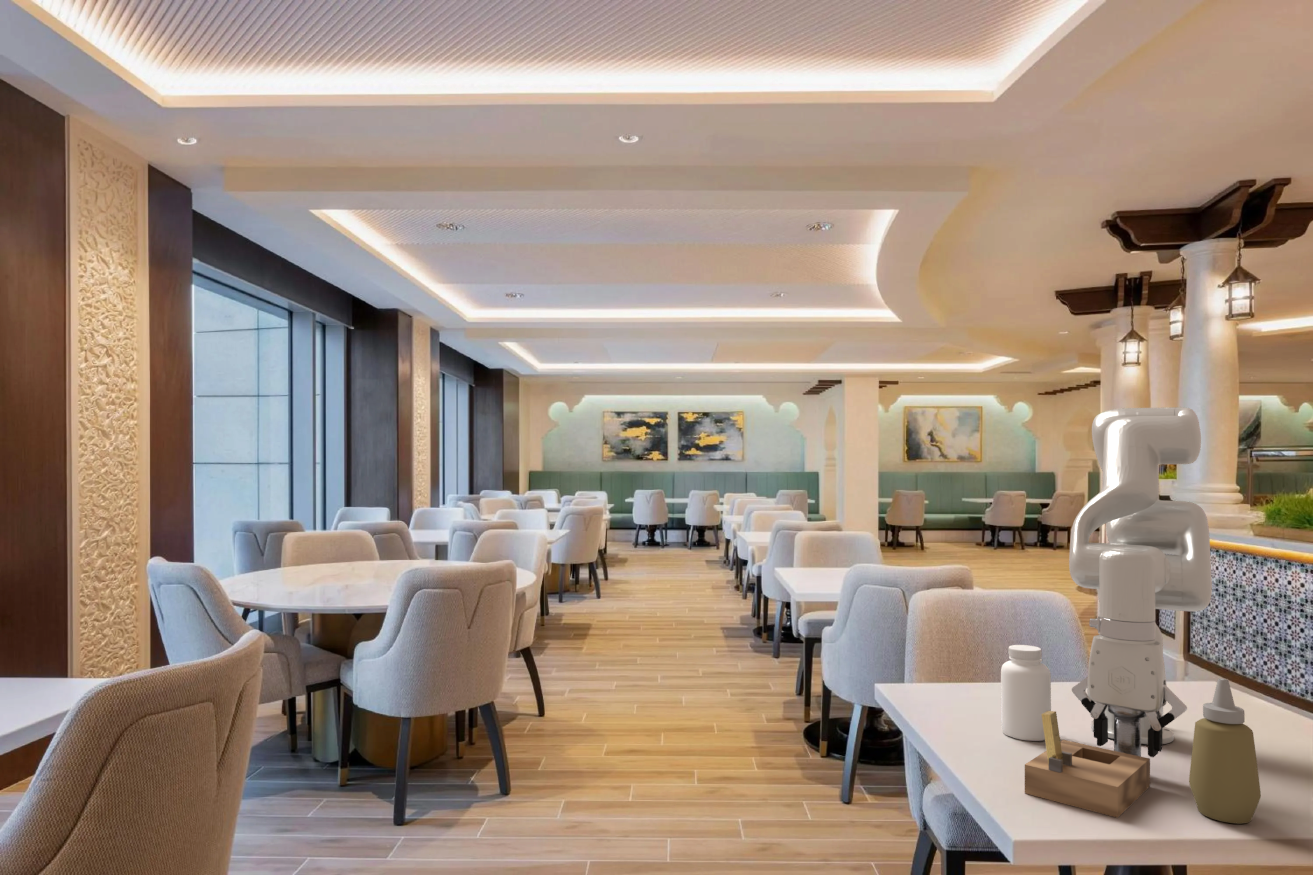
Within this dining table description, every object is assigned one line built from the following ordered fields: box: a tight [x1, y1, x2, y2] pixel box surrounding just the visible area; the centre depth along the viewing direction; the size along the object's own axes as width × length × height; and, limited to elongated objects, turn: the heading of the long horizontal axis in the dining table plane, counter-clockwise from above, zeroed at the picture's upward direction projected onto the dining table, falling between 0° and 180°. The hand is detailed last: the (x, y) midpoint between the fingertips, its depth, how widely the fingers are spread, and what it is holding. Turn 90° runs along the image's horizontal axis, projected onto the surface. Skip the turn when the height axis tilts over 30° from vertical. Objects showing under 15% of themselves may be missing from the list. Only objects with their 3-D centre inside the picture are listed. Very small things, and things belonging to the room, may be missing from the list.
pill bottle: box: [1000, 644, 1052, 742], centre depth 149 cm, size 8×8×15 cm
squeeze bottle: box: [1188, 678, 1262, 825], centre depth 115 cm, size 8×8×18 cm
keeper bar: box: [1041, 710, 1063, 765], centre depth 122 cm, size 2×7×1 cm
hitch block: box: [1024, 739, 1151, 819], centre depth 123 cm, size 16×12×6 cm
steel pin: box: [1108, 705, 1147, 757], centre depth 131 cm, size 5×5×10 cm
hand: (1127, 748), depth 131 cm, fingers open, 6 cm apart
